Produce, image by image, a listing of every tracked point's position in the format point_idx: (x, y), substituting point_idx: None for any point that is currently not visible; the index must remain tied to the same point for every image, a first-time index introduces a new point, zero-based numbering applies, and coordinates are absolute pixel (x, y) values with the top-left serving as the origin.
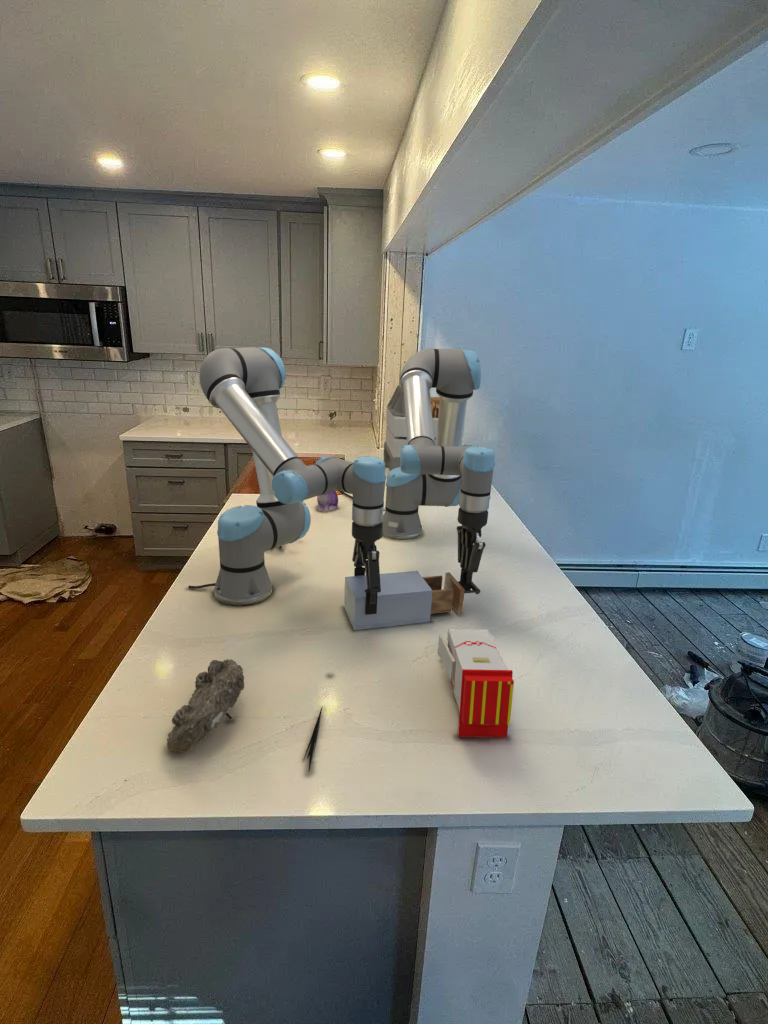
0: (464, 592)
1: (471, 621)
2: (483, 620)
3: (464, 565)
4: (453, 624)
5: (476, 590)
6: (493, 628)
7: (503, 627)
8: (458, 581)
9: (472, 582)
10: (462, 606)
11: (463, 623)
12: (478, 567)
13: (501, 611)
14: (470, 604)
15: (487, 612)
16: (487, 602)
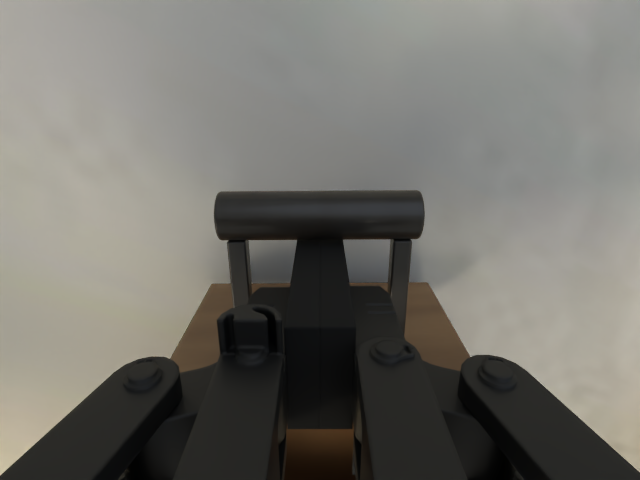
0: (403, 316)
1: (479, 243)
2: (493, 176)
3: (280, 432)
4: (473, 334)
5: (419, 231)
6: (588, 157)
7: (605, 92)
8: (235, 303)
9: (294, 218)
10: (440, 307)
11: (482, 288)
12: (583, 425)
13: (435, 4)
14: (306, 173)
15: (420, 110)
16: (302, 49)
